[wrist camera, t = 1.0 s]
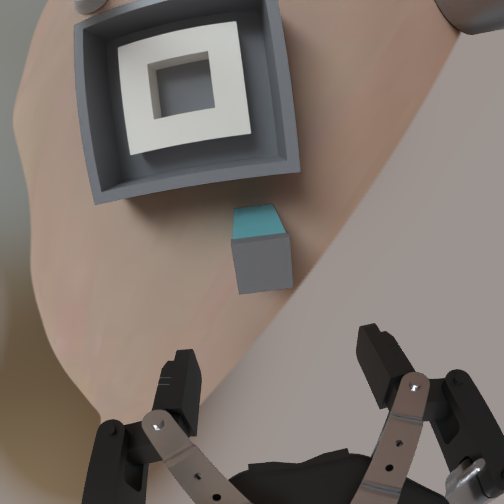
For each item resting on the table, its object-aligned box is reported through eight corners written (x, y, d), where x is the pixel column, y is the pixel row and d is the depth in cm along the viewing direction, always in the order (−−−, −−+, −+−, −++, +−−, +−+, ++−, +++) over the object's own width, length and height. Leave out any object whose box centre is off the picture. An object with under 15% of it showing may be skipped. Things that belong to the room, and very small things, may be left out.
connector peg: (273, 202, 30) (289, 237, 20) (277, 240, 31) (293, 287, 22) (233, 207, 30) (231, 244, 21) (238, 245, 31) (239, 294, 22)
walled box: (266, 4, 21) (273, -22, 15) (288, 164, 28) (300, 172, 23) (99, 39, 21) (73, 25, 15) (119, 190, 28) (95, 205, 23)
